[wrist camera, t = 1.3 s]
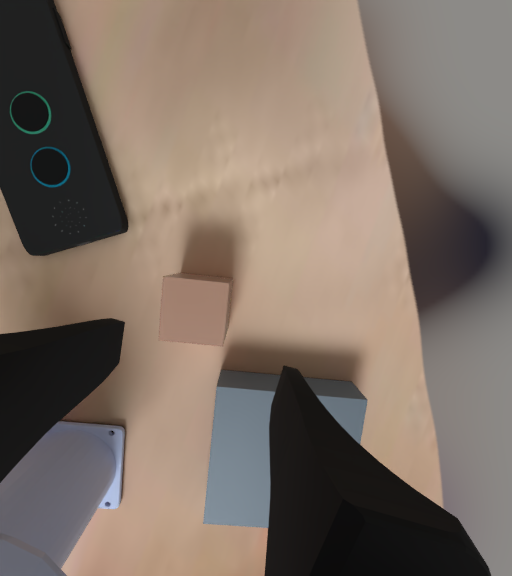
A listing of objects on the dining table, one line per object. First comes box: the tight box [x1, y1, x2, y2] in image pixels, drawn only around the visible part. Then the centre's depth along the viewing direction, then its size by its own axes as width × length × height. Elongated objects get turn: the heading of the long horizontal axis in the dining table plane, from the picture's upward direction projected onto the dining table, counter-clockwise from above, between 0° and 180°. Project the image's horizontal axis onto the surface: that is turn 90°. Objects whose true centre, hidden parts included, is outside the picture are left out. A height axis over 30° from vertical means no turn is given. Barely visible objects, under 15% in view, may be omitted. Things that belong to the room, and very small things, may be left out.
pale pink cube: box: [159, 273, 233, 346], centre depth 20 cm, size 4×4×4 cm
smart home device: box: [0, 0, 128, 256], centre depth 19 cm, size 8×2×20 cm
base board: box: [203, 370, 367, 528], centre depth 22 cm, size 12×12×3 cm
